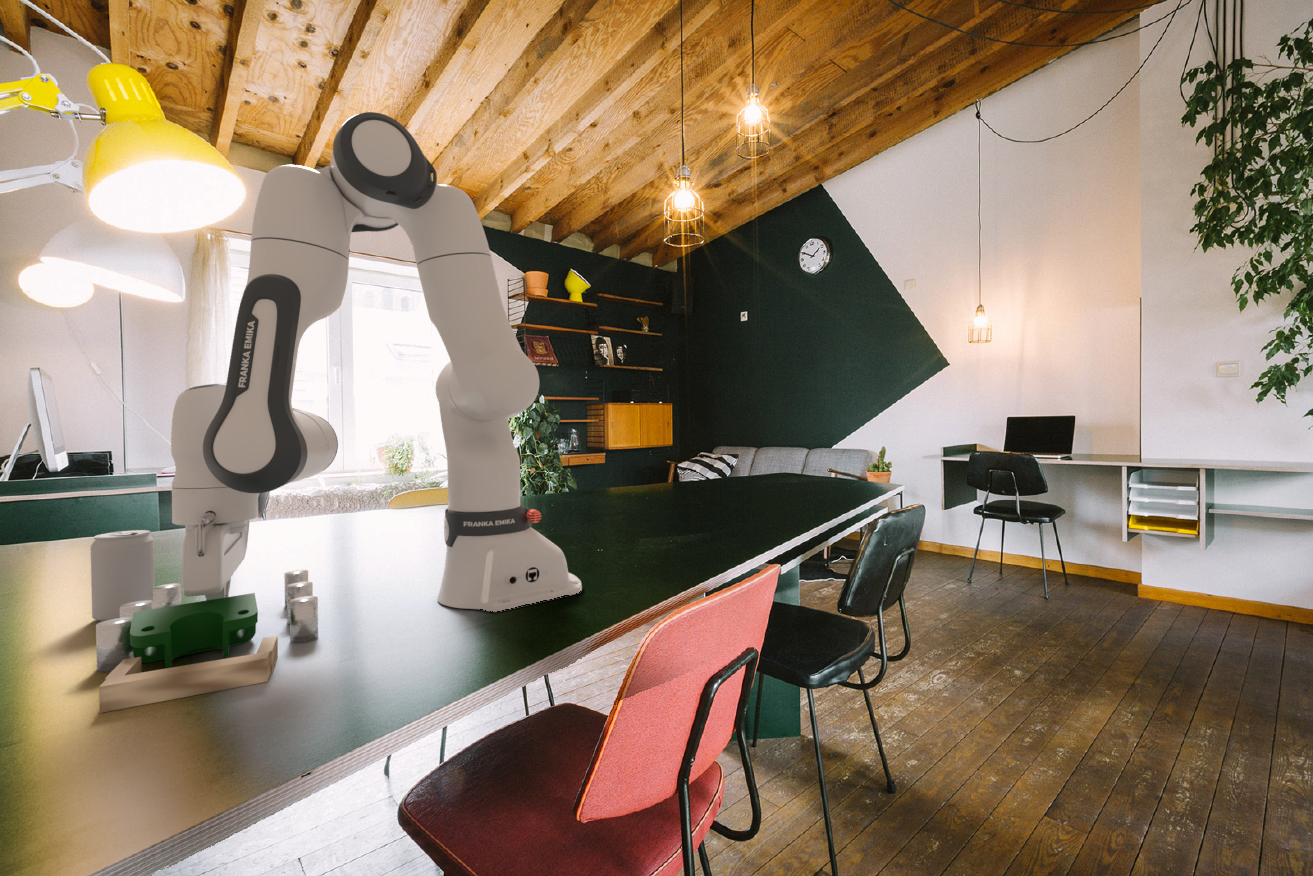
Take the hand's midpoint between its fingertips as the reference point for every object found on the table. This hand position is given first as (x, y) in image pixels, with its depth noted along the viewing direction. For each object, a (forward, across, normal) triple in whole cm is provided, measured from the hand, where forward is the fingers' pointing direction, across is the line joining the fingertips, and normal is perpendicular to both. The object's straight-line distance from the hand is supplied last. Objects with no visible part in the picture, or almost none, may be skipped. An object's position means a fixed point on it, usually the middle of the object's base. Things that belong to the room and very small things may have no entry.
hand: (218, 611), depth 72 cm
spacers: (+3, -1, -1) cm, 3 cm away
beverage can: (+3, +14, +13) cm, 19 cm away
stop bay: (+3, -17, -1) cm, 17 cm away
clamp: (+3, -9, 0) cm, 9 cm away
